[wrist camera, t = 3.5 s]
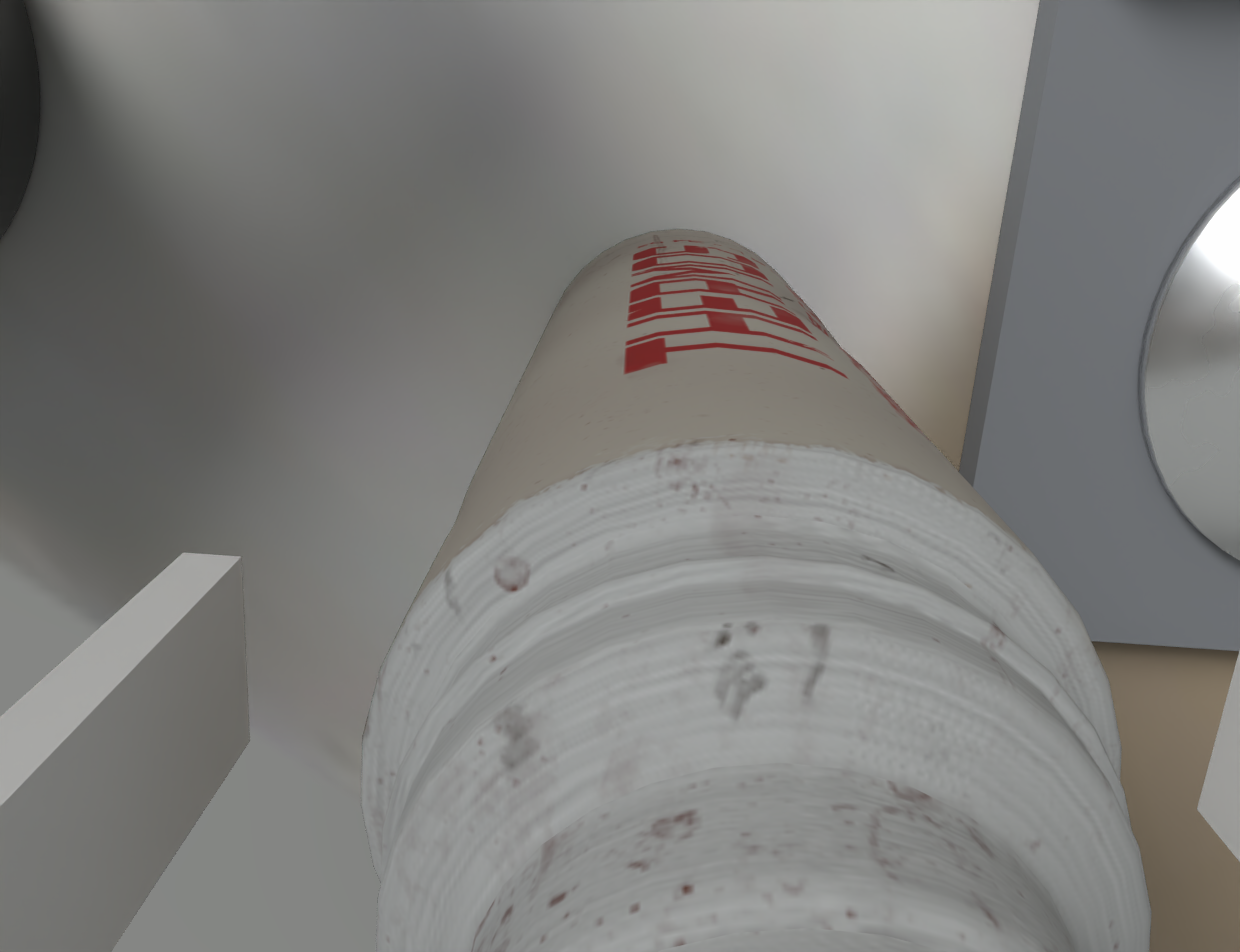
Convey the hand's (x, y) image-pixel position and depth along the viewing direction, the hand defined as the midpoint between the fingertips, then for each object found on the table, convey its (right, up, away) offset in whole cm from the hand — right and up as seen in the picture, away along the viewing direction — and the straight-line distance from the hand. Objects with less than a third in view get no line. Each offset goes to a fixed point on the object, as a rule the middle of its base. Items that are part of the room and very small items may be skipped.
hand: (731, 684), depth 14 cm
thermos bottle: (0, +6, +18) cm, 19 cm away
